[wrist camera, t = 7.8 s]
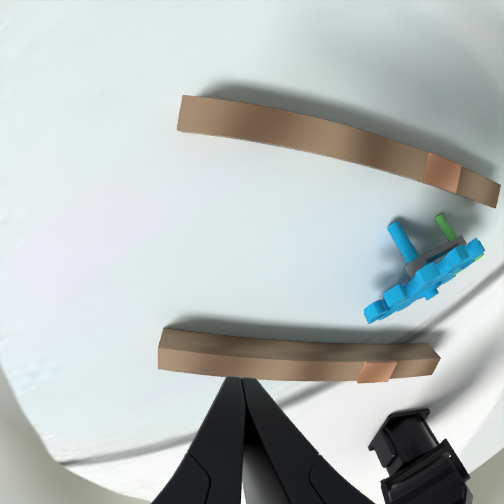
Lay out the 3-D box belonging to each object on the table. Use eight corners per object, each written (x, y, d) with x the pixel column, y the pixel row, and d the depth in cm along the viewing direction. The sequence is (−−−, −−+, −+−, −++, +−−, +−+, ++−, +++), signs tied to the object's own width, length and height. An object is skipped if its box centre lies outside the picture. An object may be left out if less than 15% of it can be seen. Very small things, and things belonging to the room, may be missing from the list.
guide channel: (481, 179, 21) (503, 185, 18) (419, 360, 26) (433, 377, 24) (187, 100, 17) (182, 93, 15) (162, 349, 23) (157, 372, 20)
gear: (353, 341, 22) (408, 304, 13) (322, 275, 25) (352, 205, 16) (453, 287, 24) (519, 234, 15) (422, 233, 26) (473, 165, 17)
